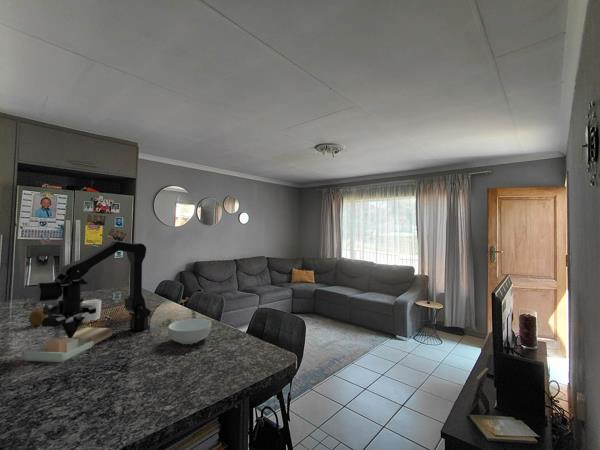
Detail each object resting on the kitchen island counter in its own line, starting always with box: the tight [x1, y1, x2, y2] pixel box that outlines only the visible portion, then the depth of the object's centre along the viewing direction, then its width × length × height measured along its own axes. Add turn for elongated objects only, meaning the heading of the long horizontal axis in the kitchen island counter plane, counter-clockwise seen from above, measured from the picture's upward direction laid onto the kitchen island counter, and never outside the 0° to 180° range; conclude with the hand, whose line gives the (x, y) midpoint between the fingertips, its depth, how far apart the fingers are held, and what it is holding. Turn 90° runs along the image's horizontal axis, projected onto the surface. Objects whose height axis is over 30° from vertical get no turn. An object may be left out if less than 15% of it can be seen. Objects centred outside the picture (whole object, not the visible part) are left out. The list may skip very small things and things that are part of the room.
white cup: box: [81, 298, 103, 324], centre depth 143 cm, size 8×8×10 cm
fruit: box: [28, 308, 48, 327], centre depth 135 cm, size 6×6×8 cm
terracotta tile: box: [45, 337, 66, 353], centre depth 105 cm, size 5×5×3 cm
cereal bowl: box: [167, 318, 212, 345], centre depth 121 cm, size 17×17×7 cm
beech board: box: [62, 327, 113, 345], centre depth 120 cm, size 12×12×3 cm
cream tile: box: [66, 338, 78, 352], centre depth 109 cm, size 5×5×3 cm
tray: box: [23, 341, 95, 363], centre depth 107 cm, size 14×14×3 cm
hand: (70, 337), depth 111 cm, fingers closed
